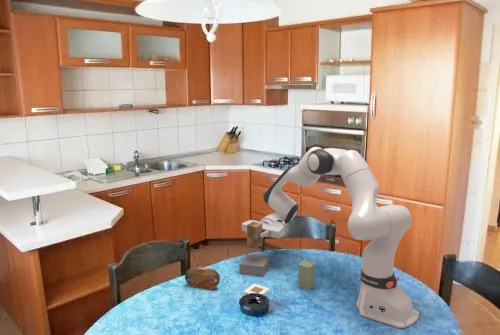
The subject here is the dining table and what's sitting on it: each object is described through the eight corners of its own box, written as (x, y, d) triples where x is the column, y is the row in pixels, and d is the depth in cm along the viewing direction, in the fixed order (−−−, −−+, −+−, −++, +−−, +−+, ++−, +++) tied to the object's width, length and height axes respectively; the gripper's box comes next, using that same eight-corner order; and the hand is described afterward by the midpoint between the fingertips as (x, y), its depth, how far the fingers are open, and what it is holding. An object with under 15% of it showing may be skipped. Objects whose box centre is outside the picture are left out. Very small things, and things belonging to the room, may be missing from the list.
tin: (185, 286, 175) (184, 267, 174) (188, 283, 178) (187, 264, 177) (218, 291, 171) (217, 272, 169) (221, 287, 174) (220, 268, 172)
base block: (269, 266, 193) (269, 256, 192) (263, 277, 183) (263, 266, 182) (246, 264, 196) (246, 254, 195) (239, 274, 186) (239, 264, 185)
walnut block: (262, 244, 188) (262, 223, 186) (256, 248, 184) (256, 227, 182) (253, 242, 191) (252, 221, 189) (247, 246, 187) (246, 225, 185)
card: (270, 289, 172) (270, 288, 172) (260, 297, 165) (260, 296, 165) (253, 284, 176) (253, 283, 176) (243, 292, 170) (243, 291, 169)
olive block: (314, 285, 175) (314, 263, 173) (309, 290, 171) (309, 267, 169) (303, 282, 177) (303, 260, 175) (298, 287, 173) (298, 264, 171)
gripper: (250, 215, 202) (234, 223, 190) (288, 222, 191) (273, 231, 180) (250, 227, 203) (234, 236, 192) (288, 235, 192) (273, 245, 181)
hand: (253, 234), depth 185 cm, fingers closed on walnut block, 5 cm apart
